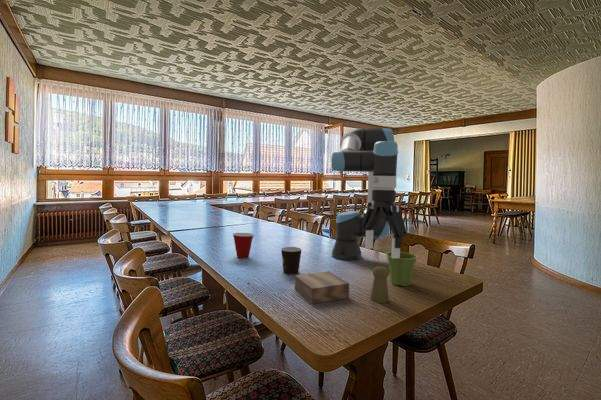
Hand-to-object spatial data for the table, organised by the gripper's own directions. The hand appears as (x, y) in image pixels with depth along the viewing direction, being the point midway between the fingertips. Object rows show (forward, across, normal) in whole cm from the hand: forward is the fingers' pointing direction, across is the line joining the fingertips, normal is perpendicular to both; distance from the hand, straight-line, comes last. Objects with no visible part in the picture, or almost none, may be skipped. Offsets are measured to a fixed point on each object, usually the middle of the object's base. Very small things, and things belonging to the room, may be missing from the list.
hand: (381, 253), depth 102 cm
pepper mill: (+16, 0, 0) cm, 16 cm away
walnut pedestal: (+16, -12, -16) cm, 26 cm away
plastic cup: (+16, -69, -30) cm, 77 cm away
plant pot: (+16, -10, +18) cm, 26 cm away
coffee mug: (+16, -39, -16) cm, 45 cm away
